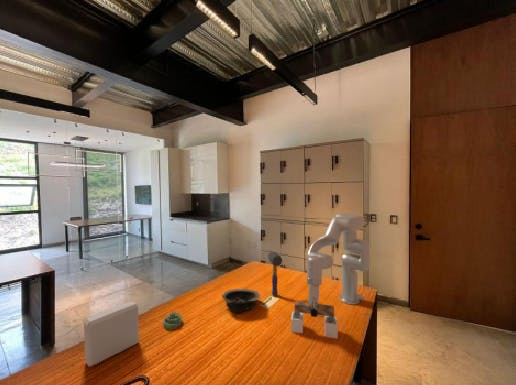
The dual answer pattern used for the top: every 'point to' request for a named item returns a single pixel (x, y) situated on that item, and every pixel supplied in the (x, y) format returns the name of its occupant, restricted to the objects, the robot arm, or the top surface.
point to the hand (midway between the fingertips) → (313, 313)
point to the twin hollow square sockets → (330, 327)
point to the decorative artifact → (172, 321)
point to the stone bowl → (240, 299)
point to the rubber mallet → (274, 270)
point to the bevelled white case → (110, 332)
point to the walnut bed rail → (321, 310)
